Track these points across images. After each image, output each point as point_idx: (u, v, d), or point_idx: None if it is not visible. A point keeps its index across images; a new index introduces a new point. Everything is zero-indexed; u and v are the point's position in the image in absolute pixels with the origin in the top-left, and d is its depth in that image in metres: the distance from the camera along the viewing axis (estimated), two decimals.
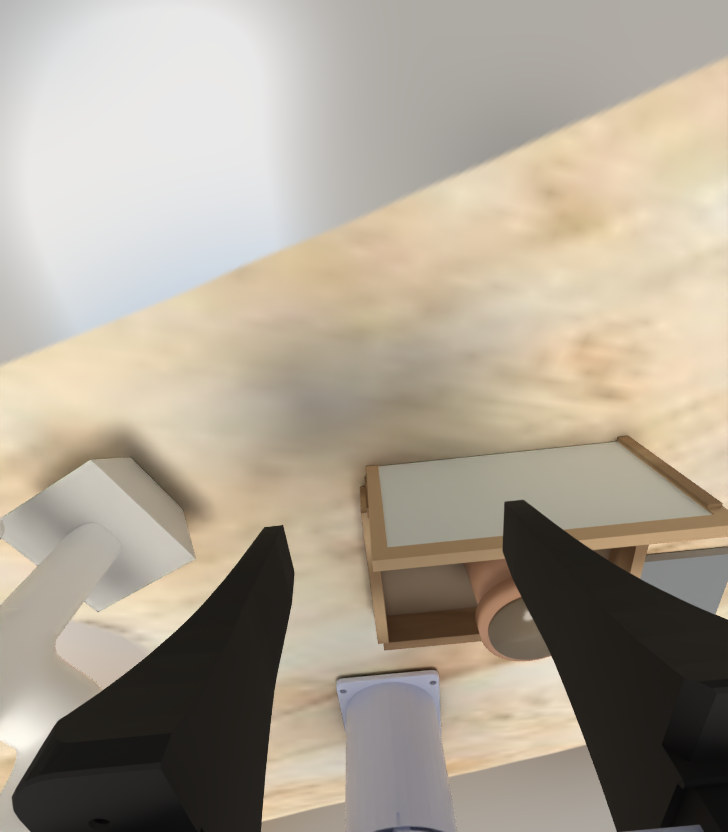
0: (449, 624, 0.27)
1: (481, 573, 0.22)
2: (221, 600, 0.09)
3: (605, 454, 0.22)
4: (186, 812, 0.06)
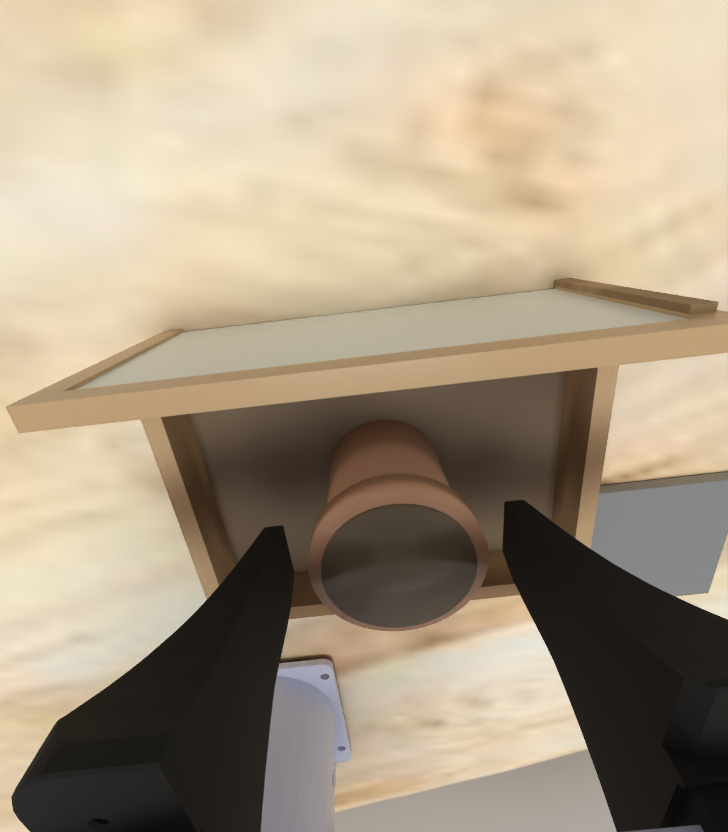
0: None
1: (332, 490, 0.14)
2: (221, 599, 0.09)
3: (530, 297, 0.14)
4: (186, 812, 0.06)
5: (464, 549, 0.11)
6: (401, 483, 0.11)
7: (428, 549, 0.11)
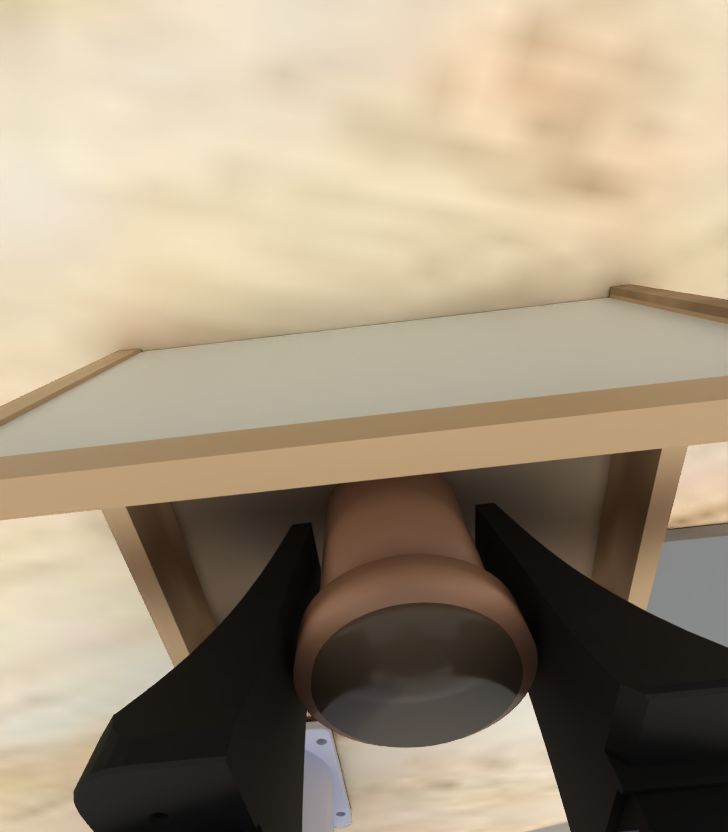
0: None
1: (327, 559, 0.11)
2: (258, 596, 0.09)
3: (583, 309, 0.11)
4: (246, 806, 0.06)
5: (506, 659, 0.08)
6: (421, 572, 0.08)
7: (457, 660, 0.08)
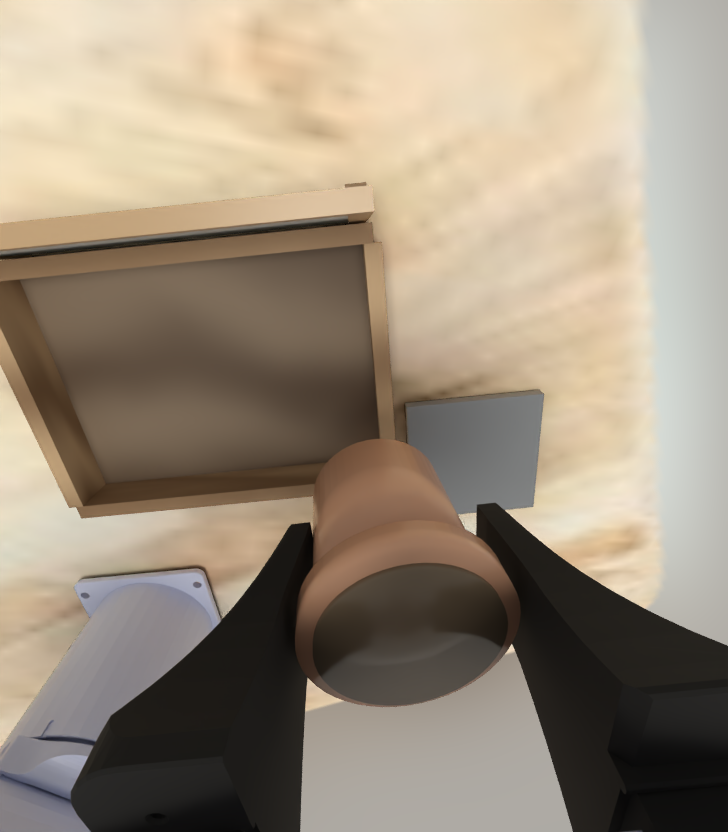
0: (173, 488, 0.20)
1: (318, 539, 0.11)
2: (257, 596, 0.09)
3: None
4: (243, 807, 0.06)
5: (491, 609, 0.09)
6: (407, 536, 0.09)
7: (447, 614, 0.09)
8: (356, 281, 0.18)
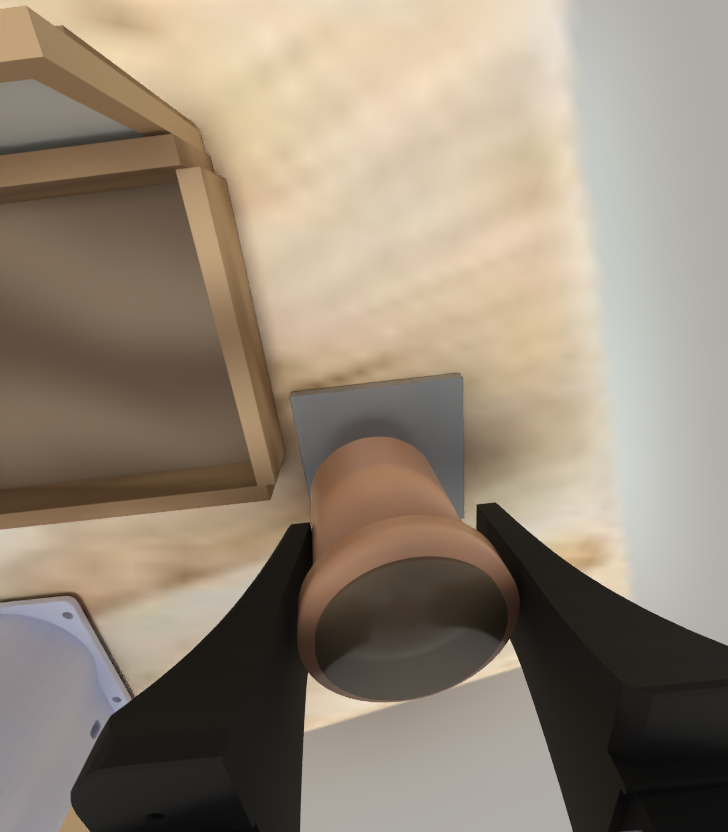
0: (3, 502, 0.16)
1: (317, 537, 0.11)
2: (257, 596, 0.09)
3: None
4: (243, 806, 0.06)
5: (491, 600, 0.09)
6: (406, 531, 0.09)
7: (447, 607, 0.09)
8: None
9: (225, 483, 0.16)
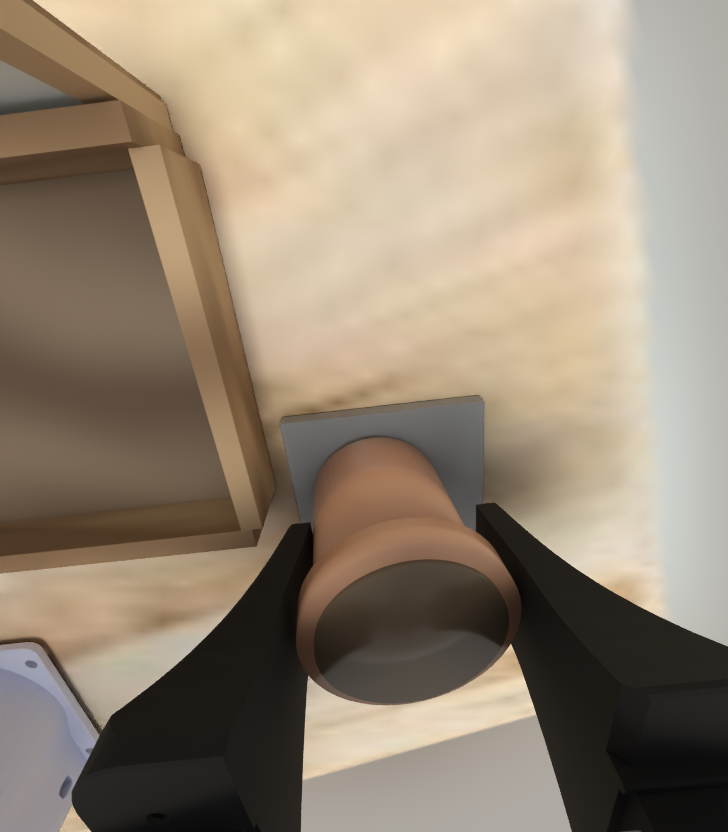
0: None
1: (318, 538, 0.11)
2: (257, 596, 0.09)
3: None
4: (244, 807, 0.06)
5: (492, 604, 0.09)
6: (406, 533, 0.09)
7: (448, 610, 0.09)
8: None
9: (204, 526, 0.13)
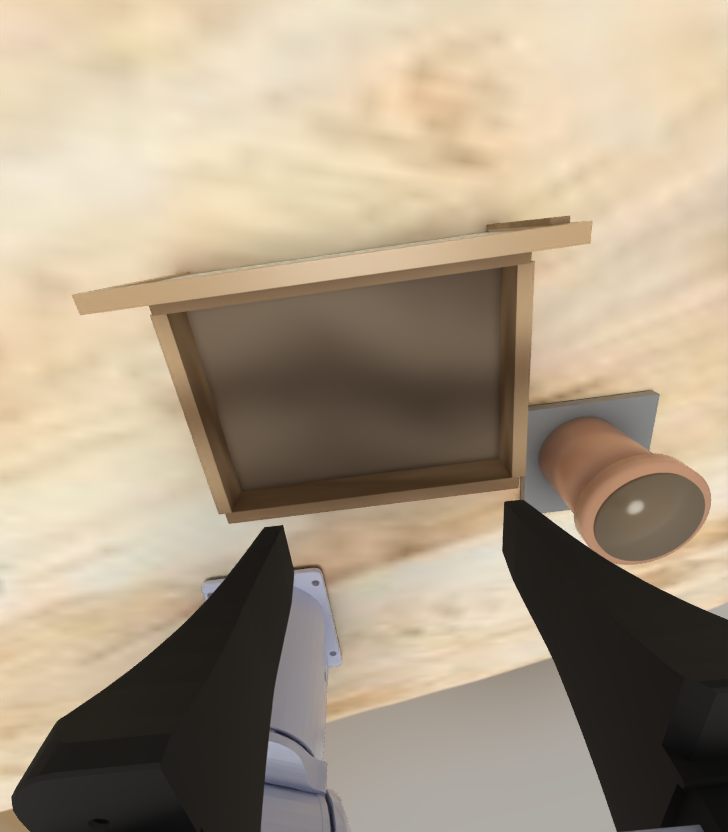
0: (310, 493, 0.22)
1: (573, 470, 0.19)
2: (221, 599, 0.09)
3: (463, 236, 0.17)
4: (186, 812, 0.06)
5: (697, 501, 0.17)
6: (654, 459, 0.17)
7: (673, 502, 0.17)
8: (492, 296, 0.19)
9: (482, 476, 0.21)
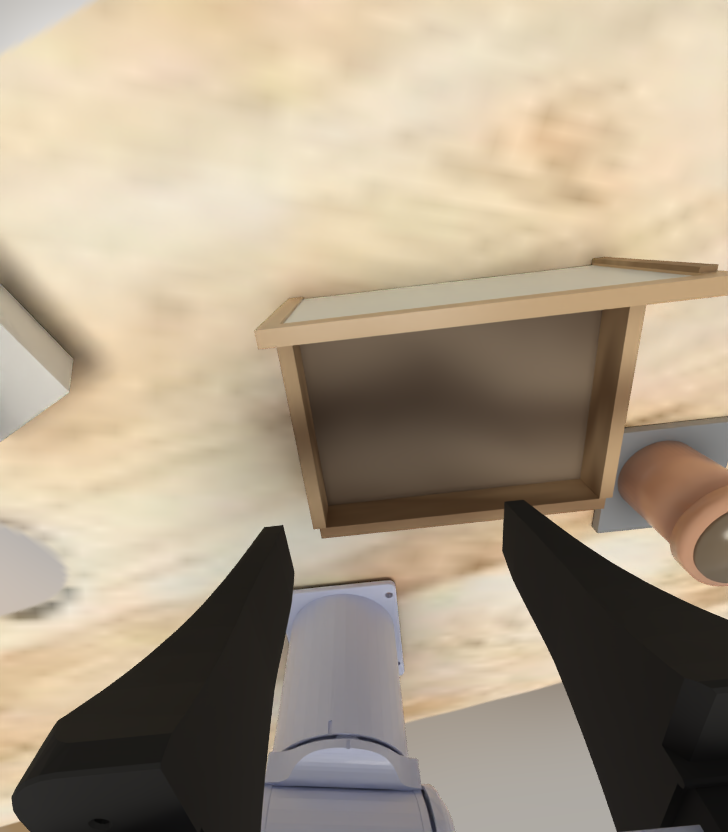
0: (399, 509, 0.23)
1: (665, 494, 0.20)
2: (221, 600, 0.09)
3: (575, 270, 0.18)
4: (186, 812, 0.06)
5: None
6: None
7: None
8: (592, 325, 0.20)
9: (569, 496, 0.22)
